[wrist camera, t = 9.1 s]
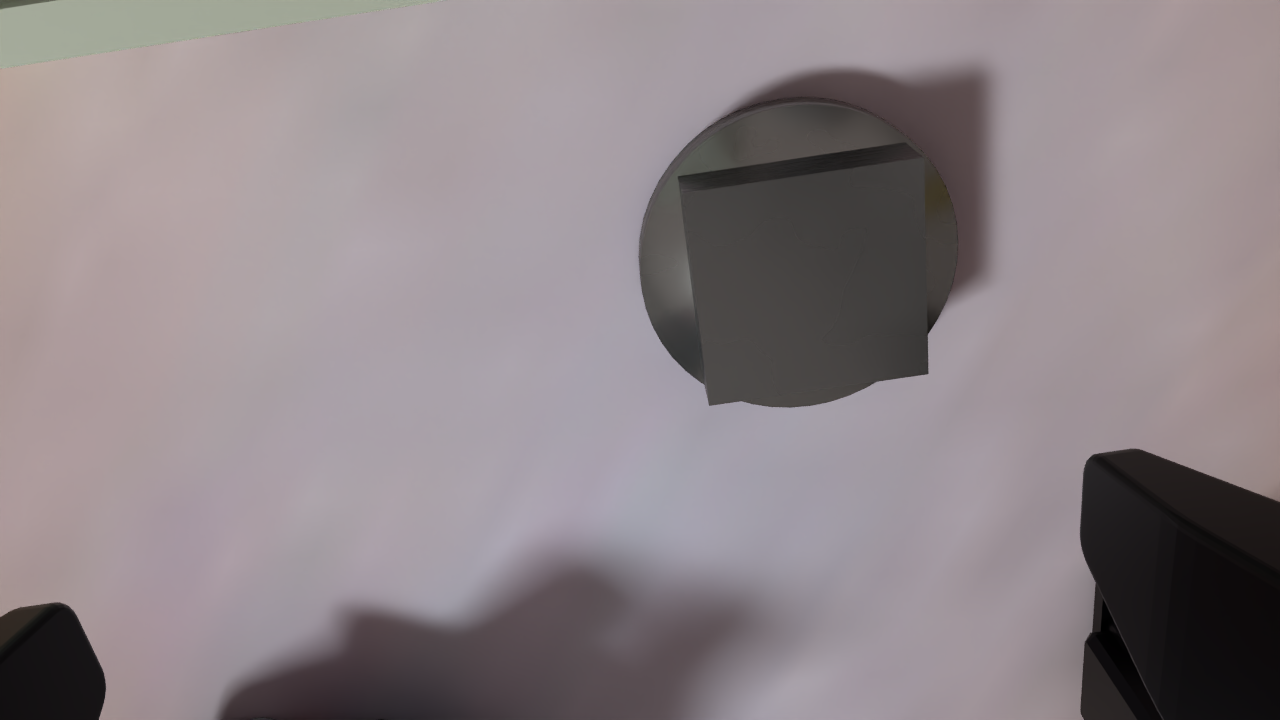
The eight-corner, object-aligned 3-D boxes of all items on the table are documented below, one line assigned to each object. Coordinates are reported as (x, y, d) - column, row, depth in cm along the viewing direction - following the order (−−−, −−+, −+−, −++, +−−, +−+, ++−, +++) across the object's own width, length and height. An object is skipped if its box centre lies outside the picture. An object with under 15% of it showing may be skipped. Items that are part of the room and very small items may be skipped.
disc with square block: (943, 74, 20) (979, 93, 18) (946, 368, 22) (978, 410, 20) (617, 123, 20) (620, 147, 18) (659, 409, 22) (665, 455, 21)
